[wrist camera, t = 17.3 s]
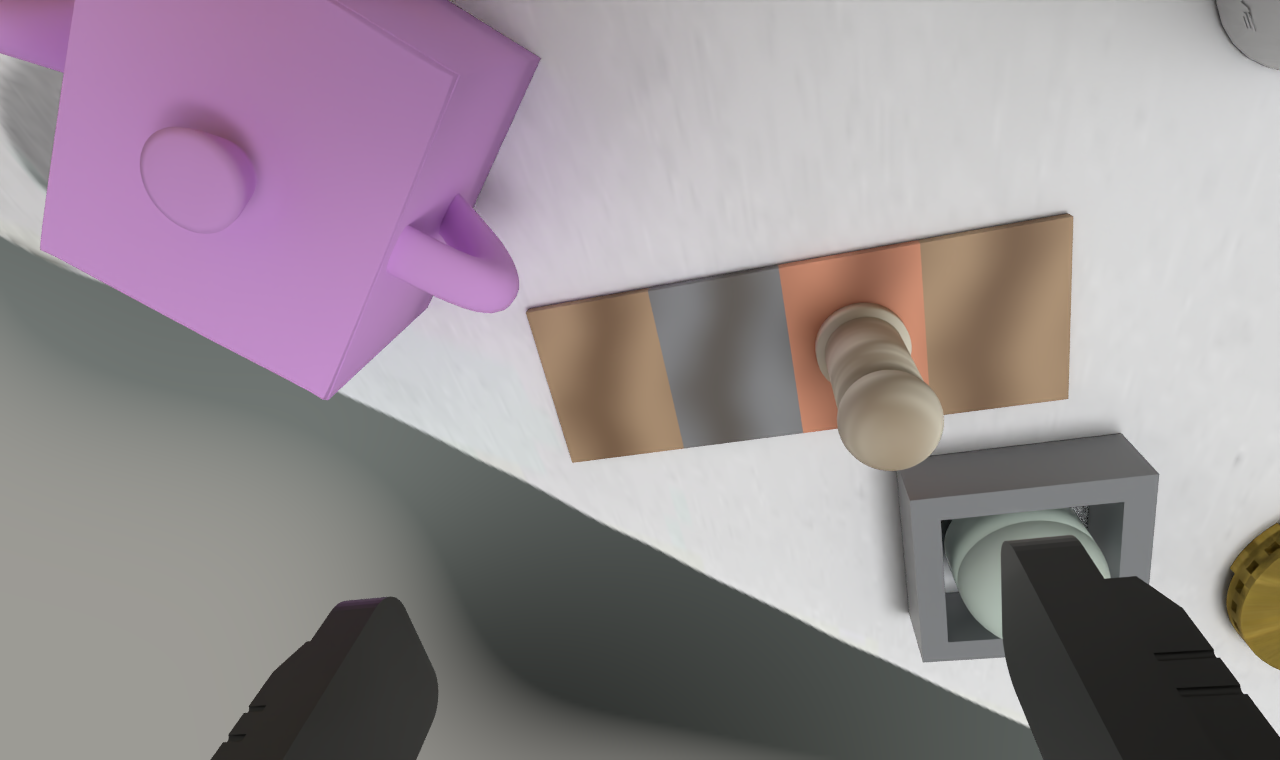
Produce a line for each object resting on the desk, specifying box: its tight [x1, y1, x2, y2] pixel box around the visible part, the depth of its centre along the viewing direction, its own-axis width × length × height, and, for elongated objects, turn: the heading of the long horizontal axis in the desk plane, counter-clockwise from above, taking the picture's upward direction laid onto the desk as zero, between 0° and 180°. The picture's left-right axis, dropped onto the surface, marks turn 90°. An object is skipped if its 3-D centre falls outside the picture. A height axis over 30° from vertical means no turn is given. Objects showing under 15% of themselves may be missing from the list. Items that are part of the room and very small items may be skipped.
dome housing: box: [897, 434, 1159, 662], centre depth 42 cm, size 12×12×4 cm
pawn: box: [815, 303, 944, 471], centre depth 34 cm, size 5×5×10 cm
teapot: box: [0, 0, 541, 400], centre depth 31 cm, size 15×25×14 cm, turn 60°
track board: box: [526, 214, 1073, 463], centre depth 40 cm, size 28×10×1 cm, turn 103°
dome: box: [944, 507, 1111, 639], centre depth 40 cm, size 8×8×8 cm
